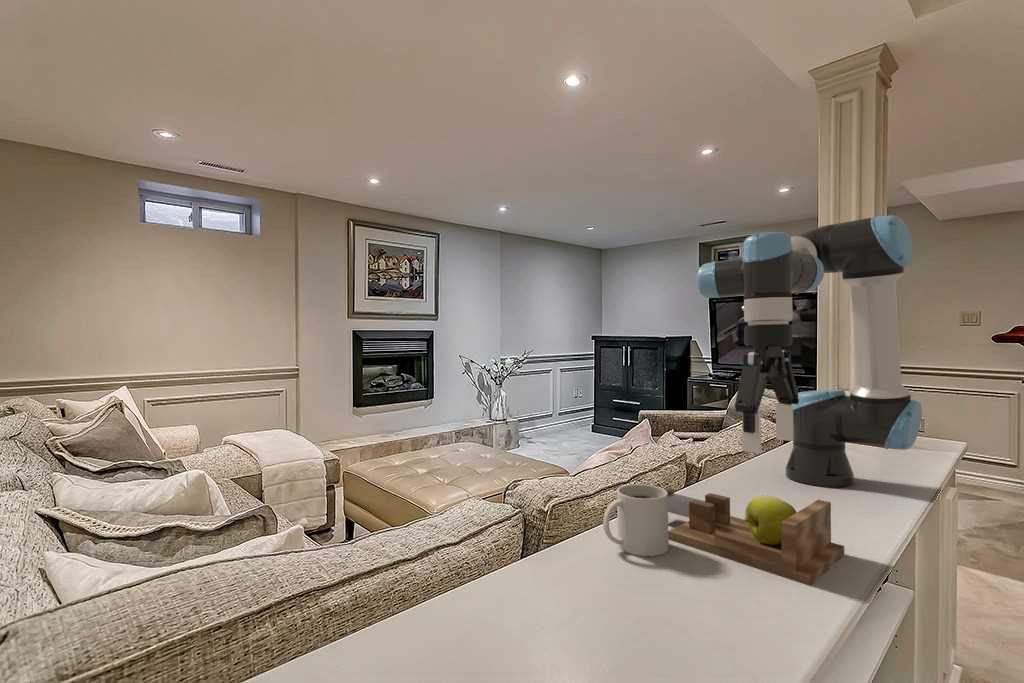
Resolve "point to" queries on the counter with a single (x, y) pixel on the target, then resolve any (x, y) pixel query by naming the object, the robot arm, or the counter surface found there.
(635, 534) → the mug
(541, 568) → the counter surface
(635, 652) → the counter surface
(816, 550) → the cradle
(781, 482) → the counter surface
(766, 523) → the apple
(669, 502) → the shaft
